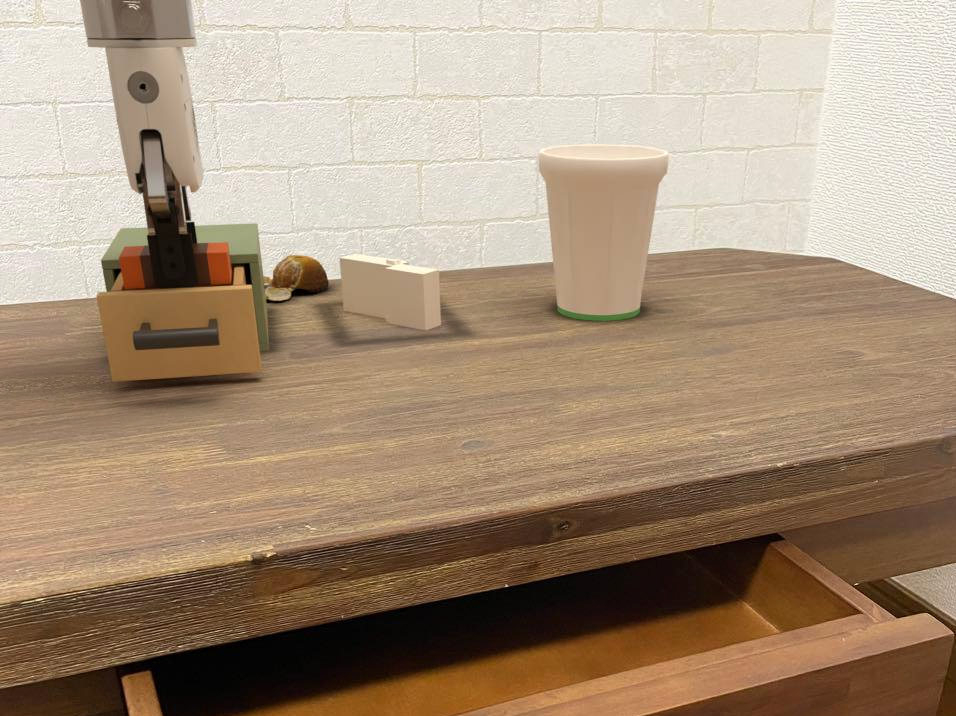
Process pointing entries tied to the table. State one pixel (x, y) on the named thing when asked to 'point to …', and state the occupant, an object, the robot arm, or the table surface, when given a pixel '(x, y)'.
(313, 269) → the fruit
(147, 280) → the chocolate bar
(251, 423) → the table surface
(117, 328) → the drawer
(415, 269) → the napkin holder
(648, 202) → the cup
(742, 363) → the table surface
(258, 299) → the cabinet
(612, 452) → the table surface
